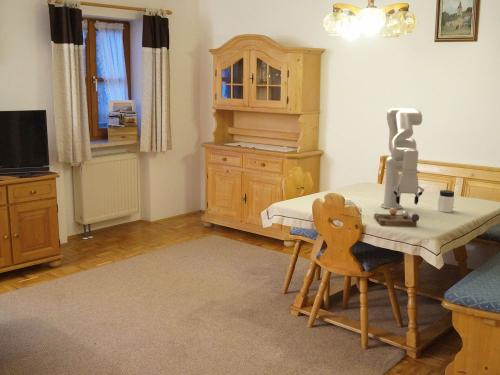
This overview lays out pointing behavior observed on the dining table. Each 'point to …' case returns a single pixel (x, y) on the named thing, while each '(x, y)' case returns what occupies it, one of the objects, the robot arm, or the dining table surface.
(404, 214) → the steel ball
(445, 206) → the jar
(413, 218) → the black ball
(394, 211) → the terracotta ball
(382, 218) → the board
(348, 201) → the penguin figurine
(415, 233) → the dining table surface
